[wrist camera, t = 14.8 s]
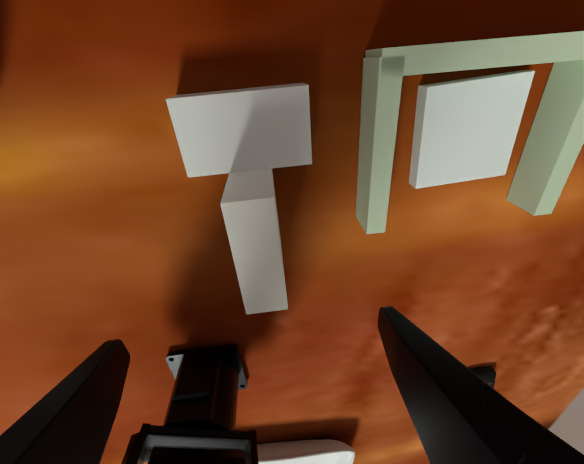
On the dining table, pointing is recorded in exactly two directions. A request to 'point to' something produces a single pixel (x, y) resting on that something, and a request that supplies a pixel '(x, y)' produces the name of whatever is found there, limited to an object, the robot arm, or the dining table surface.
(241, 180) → the scraper
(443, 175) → the tile
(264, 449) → the salad plate
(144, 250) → the dining table surface
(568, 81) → the green c-shaped block
